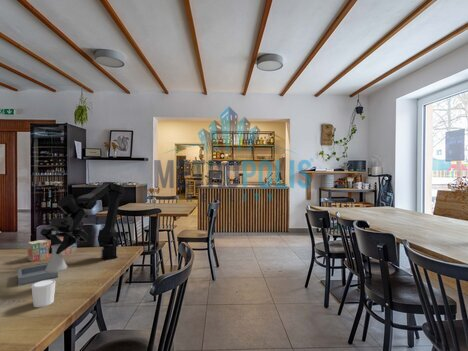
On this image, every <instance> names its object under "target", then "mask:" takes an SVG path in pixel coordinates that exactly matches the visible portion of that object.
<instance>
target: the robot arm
mask: <svg viewBox="0 0 468 351" xmlns="http://www.w3.org/2000/svg"><path fill="white" fill-rule="evenodd" d="M106 194H107V197H108V199H109V202H108V207H107V212H106V217H105V222H104V227H102V229H99V230H98V236H97V242H98V246H99V247H100V248H101V247H102V248H101V252H100V254H101V255H100V256H101V259H103V260H104V261H107V260H113V259H117V258H118V256H117V247H119V246H120V242H121V241H120V239H119V238H118V237H117V231H116V223H117V218H118V217H117V216H118V211H119V206H120V202H121V200H123V199H124V196H125V194H126V188H125V187H124V186H123V185H120V184H117V183H114V182H112V181H103V182H102V183H101V184H100V185H99V186H97V187H96V188H95V189H93V190H91V191H90V192H89V193H87V194H86V193H85V194H82V195H80V196H78V197H77V198H75V196H74V195H73V194H67V195H66V196H63V197H62V198H61V199H59V200H58V201H57V207H59V208H60V210H61V211H63V213H65V214H66V215H68V216H65V217H64V218H63V217H62V218H61V217H53V218H52V219H51V222H50V228H48V227H45V228H42V229H41V231H40V235H42V237H44V239H47V240H51V244H50V248H49V254H51V253H52V248H51V246H53V245H59V244H60V246H59V248H58V250H57V252H56V254H60V253H61V252H62V251H64V250H65V249H67V248H68V247H70V246H71V245H73V244H74V243H77V244H78V239H79V241H80V242H81V243H87V242H88V240H89V239H90V235H89V234H88V233H87V232H86V231H85V229H83V228H82V225H81V223H82V222H83V220H84V218H86V219H88V218H89V213H88V211H85V210H93V209H94V208H95V206H96V205H98V204H97V202H98V200H100V199H101V198H102V197H103V196H105V195H106ZM51 227H54V228H55V229H56V230H55V229H54V228H51ZM61 237H63V241H61V240H60V238H61Z"/></svg>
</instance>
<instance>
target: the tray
mask: <svg viewBox="0 0 468 351" xmlns="http://www.w3.org/2000/svg"><path fill="white" fill-rule="evenodd" d="M47 264H48V263H44V264H43V263H42V264H38V265H32V266H27V267H20V268H17V283H18V284H17V285H18V287H21V286H24V285H29V284H34V283H36V282H39V281H42V280H49V279H52V280H53V279H57V278H59V272H57V273H47V272H45V269H46V267H47Z"/></svg>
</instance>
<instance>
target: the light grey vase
mask: <svg viewBox="0 0 468 351" xmlns="http://www.w3.org/2000/svg"><path fill="white" fill-rule="evenodd" d="M59 246H60V244H59V245H53V246H51V248H52V253H51V257H50V258H48V262H47V263H46V264H47V267H46V269H45V272H47V273H57V272H58V273H59V272H63V271H66V269H67V268H68V265H67V263H66V261H65V259H64V257H63V255H61V253H60V254H56V252H57V250H58V248H59Z"/></svg>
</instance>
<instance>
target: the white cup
mask: <svg viewBox="0 0 468 351" xmlns="http://www.w3.org/2000/svg"><path fill="white" fill-rule="evenodd" d="M55 291H56V280H55V279H53V278H52V279H48V280H42V281H38V282H34V283H31V294H32V303H33V307H35V308H43V307H46V306H49V305H51V304H53V303H54V301H55Z"/></svg>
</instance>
